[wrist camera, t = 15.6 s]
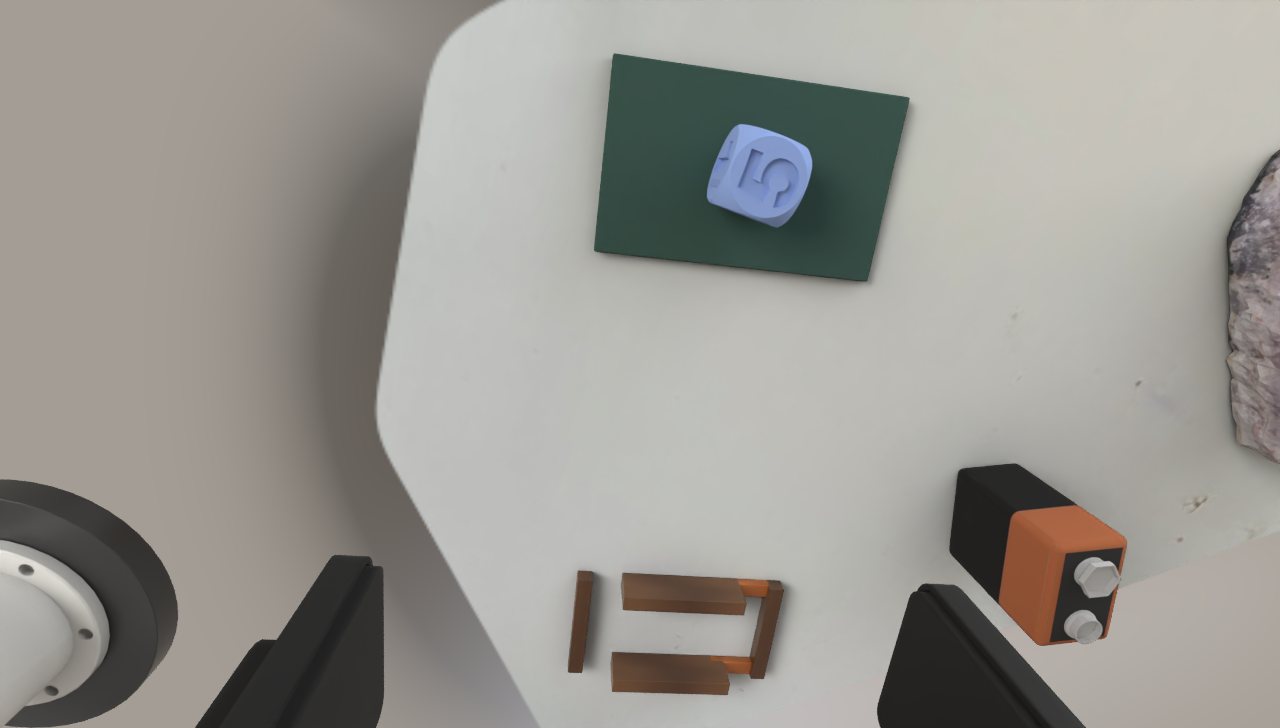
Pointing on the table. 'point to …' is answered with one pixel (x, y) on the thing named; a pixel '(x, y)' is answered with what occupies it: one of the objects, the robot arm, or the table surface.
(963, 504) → the battery
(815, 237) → the mat
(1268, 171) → the geode
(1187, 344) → the table surface
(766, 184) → the decorative dice
